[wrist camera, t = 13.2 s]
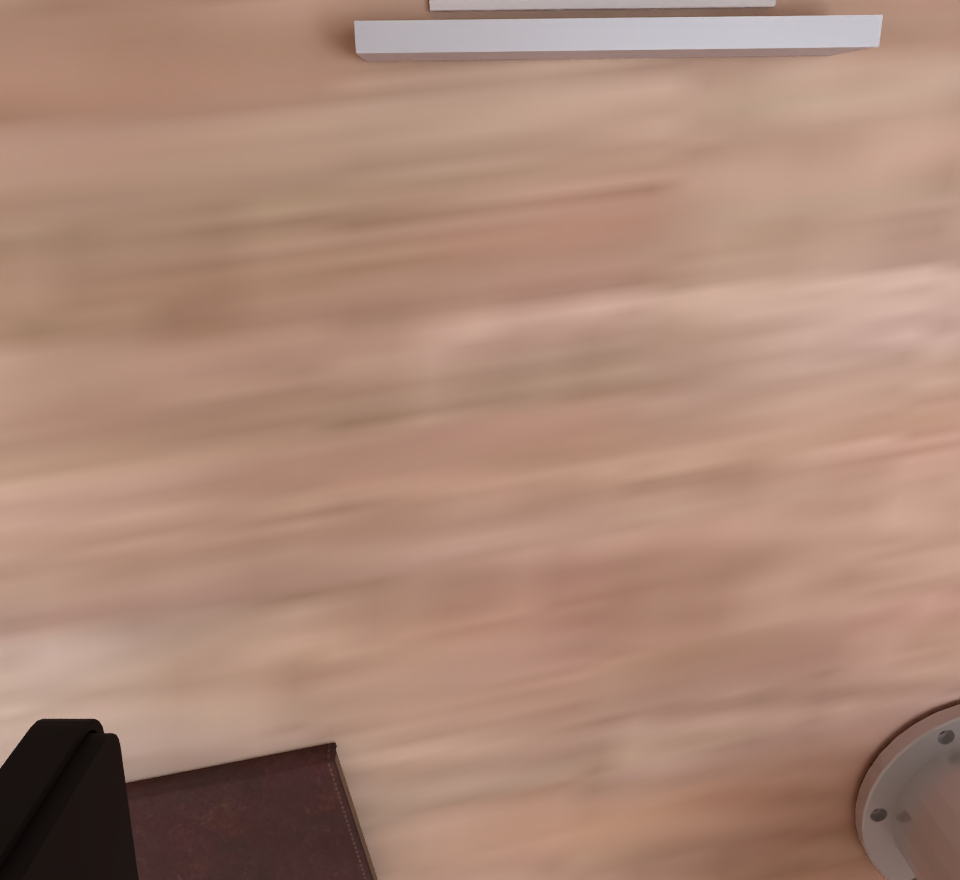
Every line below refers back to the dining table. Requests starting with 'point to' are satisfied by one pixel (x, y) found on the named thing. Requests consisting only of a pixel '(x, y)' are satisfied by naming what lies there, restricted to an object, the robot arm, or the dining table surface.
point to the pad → (591, 4)
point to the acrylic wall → (615, 37)
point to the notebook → (250, 821)
